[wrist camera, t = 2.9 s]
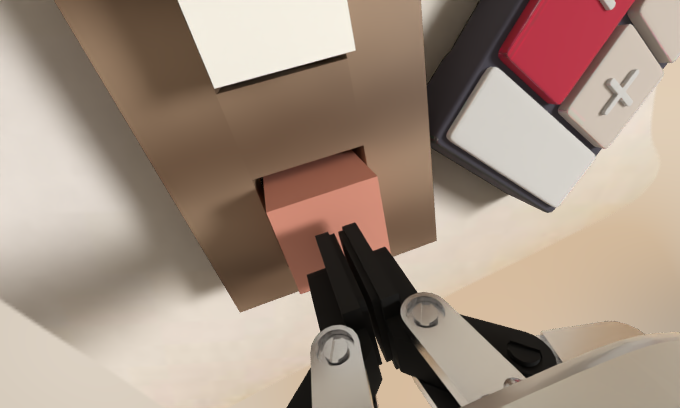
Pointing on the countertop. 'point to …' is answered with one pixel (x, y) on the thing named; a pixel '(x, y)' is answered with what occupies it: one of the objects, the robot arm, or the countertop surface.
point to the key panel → (266, 126)
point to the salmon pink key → (323, 208)
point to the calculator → (547, 88)
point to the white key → (266, 35)
